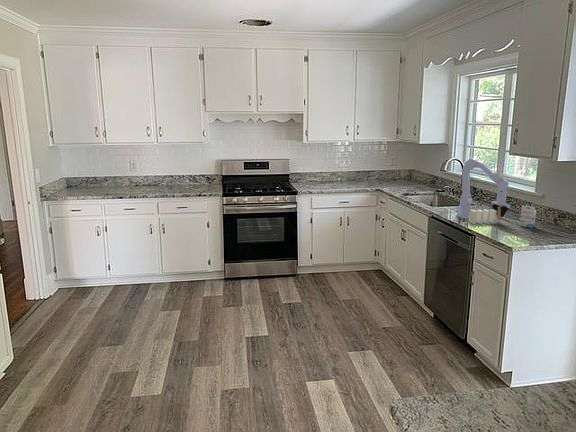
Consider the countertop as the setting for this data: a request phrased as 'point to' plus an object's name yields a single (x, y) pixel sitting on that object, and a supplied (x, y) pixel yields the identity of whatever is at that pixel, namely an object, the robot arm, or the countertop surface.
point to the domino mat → (490, 222)
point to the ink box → (527, 216)
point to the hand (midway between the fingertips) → (499, 215)
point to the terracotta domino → (499, 214)
